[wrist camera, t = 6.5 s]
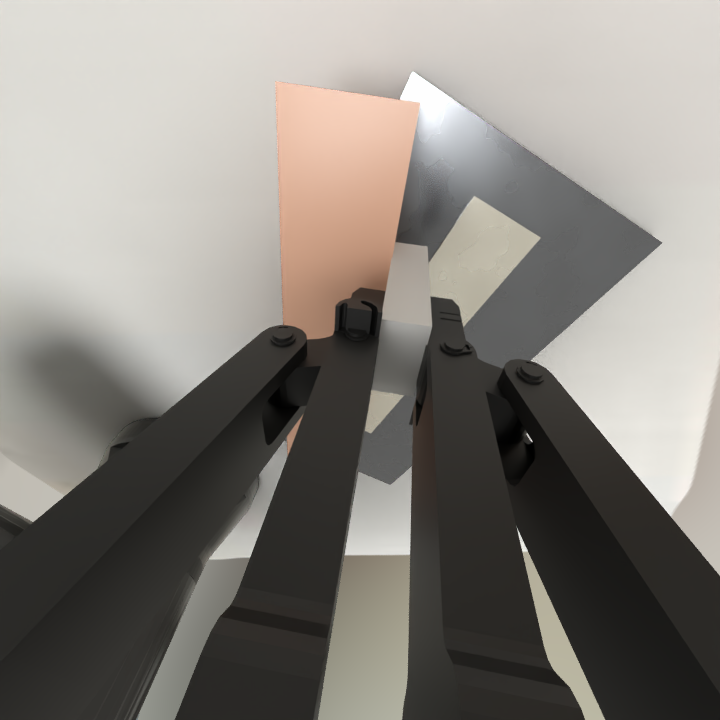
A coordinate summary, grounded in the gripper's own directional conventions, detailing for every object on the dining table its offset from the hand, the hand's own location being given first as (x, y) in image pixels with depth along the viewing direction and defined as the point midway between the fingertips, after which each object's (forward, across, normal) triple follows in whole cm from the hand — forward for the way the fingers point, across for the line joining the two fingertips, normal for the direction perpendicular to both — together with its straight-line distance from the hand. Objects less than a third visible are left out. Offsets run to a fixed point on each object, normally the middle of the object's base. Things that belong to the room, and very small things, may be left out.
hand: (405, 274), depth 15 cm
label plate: (+4, -1, +8) cm, 9 cm away
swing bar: (0, +3, +7) cm, 7 cm away
